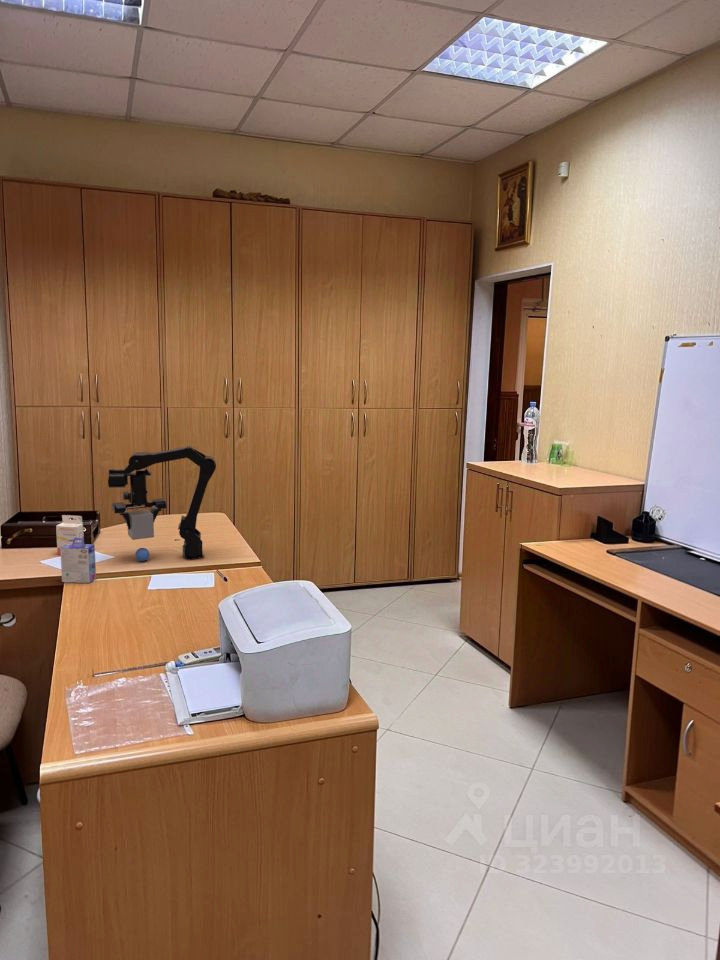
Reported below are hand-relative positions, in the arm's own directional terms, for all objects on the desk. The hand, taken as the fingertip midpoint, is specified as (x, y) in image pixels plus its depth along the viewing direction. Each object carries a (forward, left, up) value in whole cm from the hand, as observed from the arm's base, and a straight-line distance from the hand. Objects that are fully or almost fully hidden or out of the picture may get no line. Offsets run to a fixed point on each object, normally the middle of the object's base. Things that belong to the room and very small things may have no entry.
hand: (140, 528), depth 253 cm
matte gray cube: (0, 0, -3) cm, 3 cm away
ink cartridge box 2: (+24, +14, -12) cm, 30 cm away
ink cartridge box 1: (+22, -18, -12) cm, 31 cm away
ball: (0, +3, -10) cm, 10 cm away
